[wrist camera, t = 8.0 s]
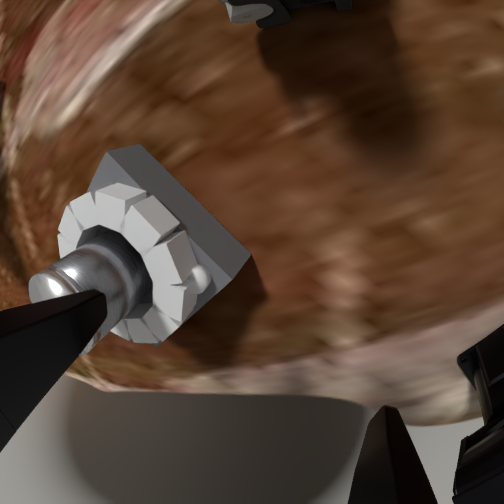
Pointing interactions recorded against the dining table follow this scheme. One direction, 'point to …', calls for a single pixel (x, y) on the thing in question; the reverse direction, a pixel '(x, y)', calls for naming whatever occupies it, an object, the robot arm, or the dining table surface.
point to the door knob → (98, 278)
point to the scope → (272, 10)
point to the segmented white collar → (155, 239)
